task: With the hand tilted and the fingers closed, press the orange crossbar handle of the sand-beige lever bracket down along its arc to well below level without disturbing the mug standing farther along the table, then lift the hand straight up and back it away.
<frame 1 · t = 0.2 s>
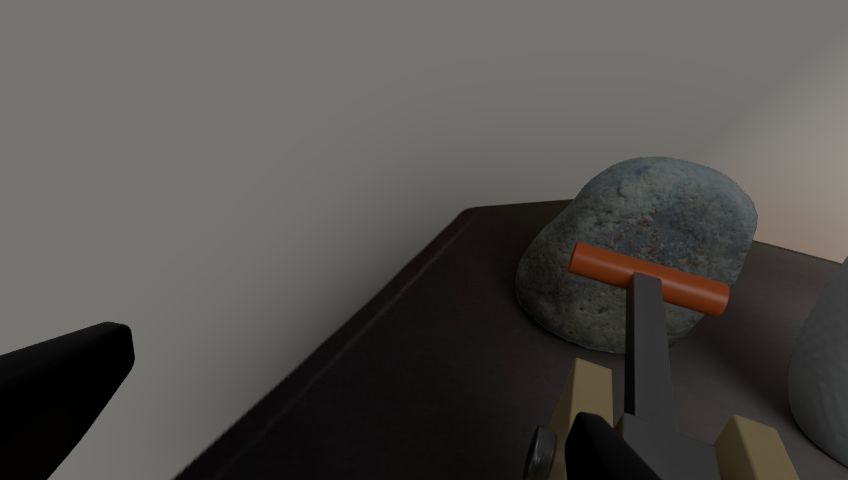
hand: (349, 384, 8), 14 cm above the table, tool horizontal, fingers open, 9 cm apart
lever: (646, 367, 14), point 12 cm above the table, hinge at 8.0°
stone: (590, 321, 38), on the table
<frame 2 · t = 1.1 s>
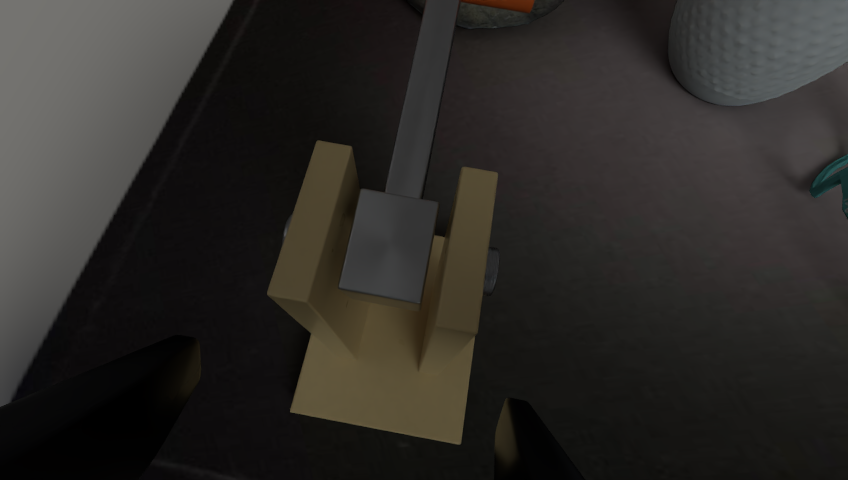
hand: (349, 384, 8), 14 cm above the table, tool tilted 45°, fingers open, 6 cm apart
lever: (421, 111, 14), point 12 cm above the table, hinge at 8.0°
bracket: (396, 325, 23), on the table
mug: (722, 65, 31), on the table
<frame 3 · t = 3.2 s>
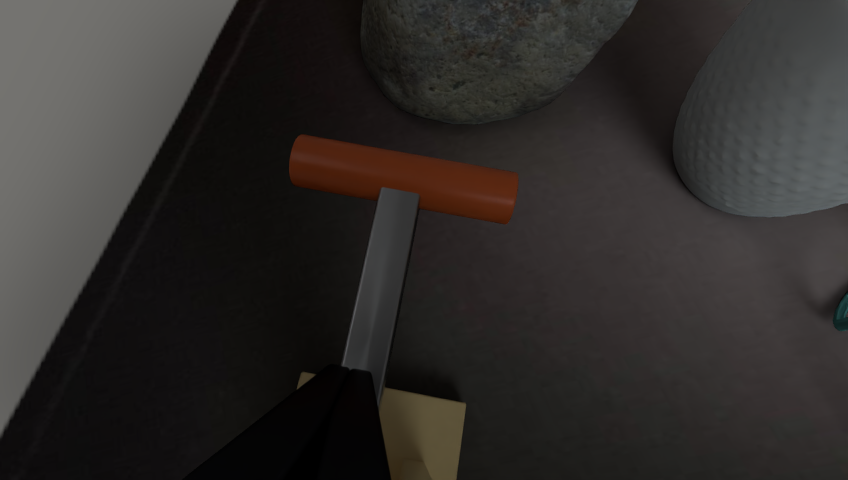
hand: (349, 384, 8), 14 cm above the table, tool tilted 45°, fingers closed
lever: (362, 379, 11), point 12 cm above the table, hinge at 8.0°
mug: (732, 162, 28), on the table
stone: (468, 69, 30), on the table
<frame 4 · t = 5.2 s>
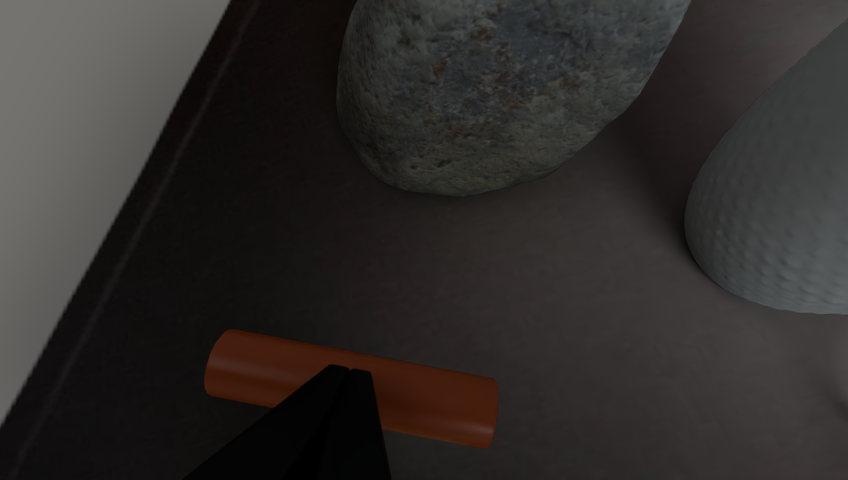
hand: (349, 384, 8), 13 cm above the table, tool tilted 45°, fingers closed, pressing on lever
mug: (749, 235, 25), on the table
stone: (457, 127, 27), on the table
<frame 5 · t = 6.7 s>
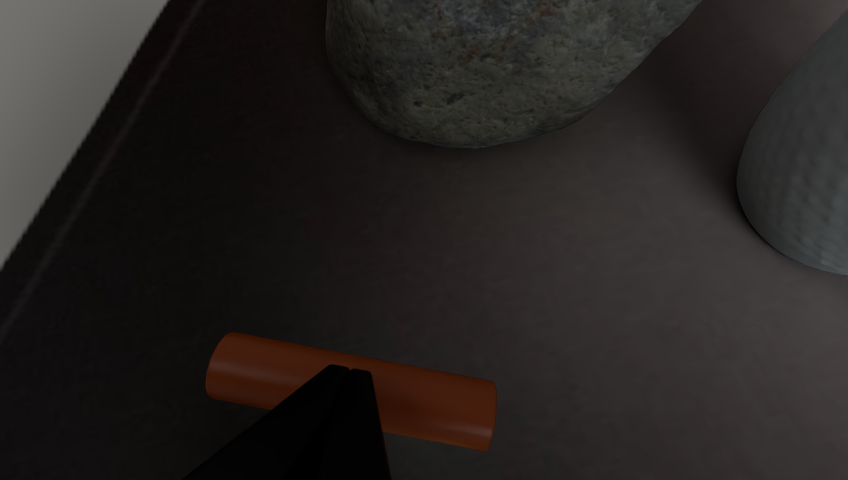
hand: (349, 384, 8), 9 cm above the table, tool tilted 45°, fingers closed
mug: (811, 196, 21), on the table
stone: (467, 74, 23), on the table
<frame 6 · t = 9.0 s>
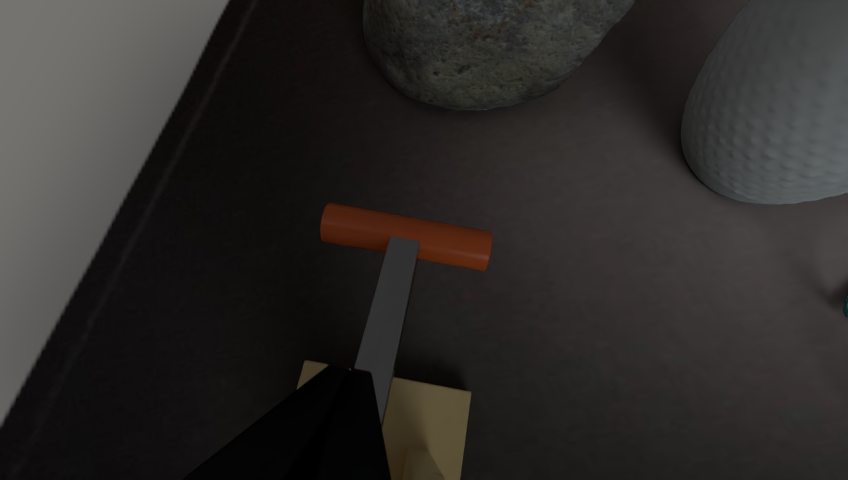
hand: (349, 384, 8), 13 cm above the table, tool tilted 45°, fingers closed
lever: (373, 377, 12), point 10 cm above the table, hinge at -18.7°
mug: (741, 149, 27), on the table
stone: (472, 54, 29), on the table
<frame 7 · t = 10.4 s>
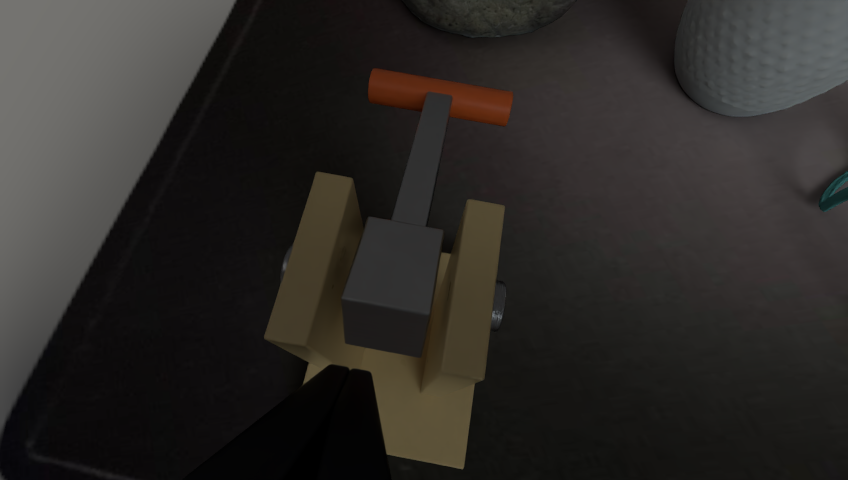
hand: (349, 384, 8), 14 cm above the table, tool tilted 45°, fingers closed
lever: (420, 178, 15), point 10 cm above the table, hinge at -18.7°
bracket: (398, 344, 22), on the table
mug: (728, 74, 30), on the table
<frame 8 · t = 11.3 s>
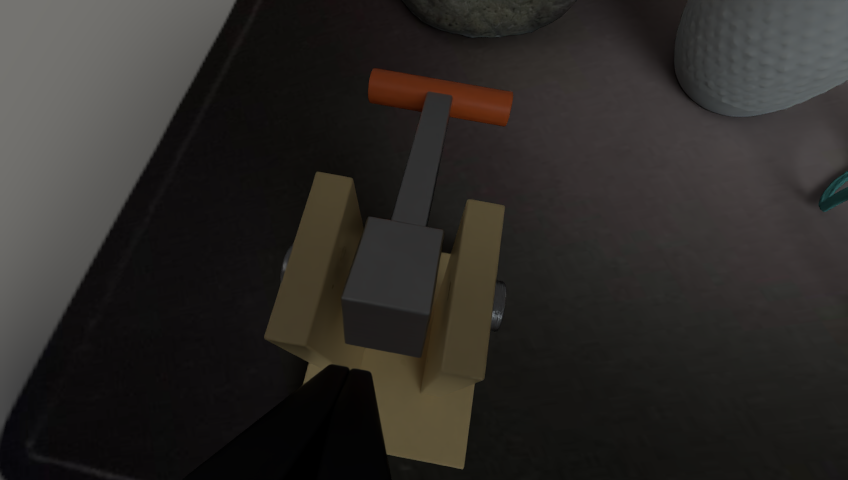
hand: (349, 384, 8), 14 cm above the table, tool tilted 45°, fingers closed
lever: (420, 178, 15), point 10 cm above the table, hinge at -18.7°
bracket: (398, 344, 22), on the table
mug: (728, 74, 30), on the table
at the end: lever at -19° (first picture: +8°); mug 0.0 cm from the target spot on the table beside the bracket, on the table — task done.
